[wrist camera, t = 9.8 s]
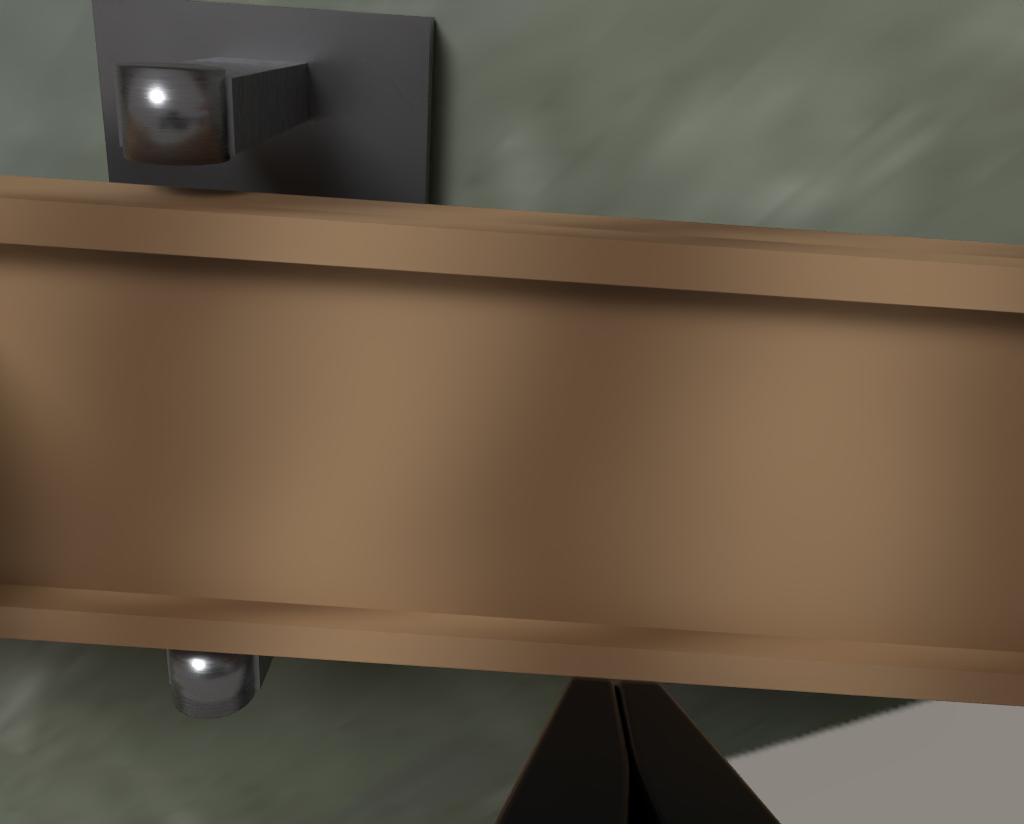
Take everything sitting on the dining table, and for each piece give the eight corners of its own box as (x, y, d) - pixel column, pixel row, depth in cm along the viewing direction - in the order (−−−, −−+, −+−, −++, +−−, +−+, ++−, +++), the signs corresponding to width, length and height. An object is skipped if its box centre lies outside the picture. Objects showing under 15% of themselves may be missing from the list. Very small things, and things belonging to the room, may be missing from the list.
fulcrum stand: (434, 18, 18) (388, 17, 12) (417, 573, 22) (378, 766, 16) (109, -6, 18) (-95, -17, 12) (160, 556, 22) (31, 745, 16)
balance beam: (1214, 257, 14) (1417, 330, 11) (1075, 651, 17) (1204, 804, 13) (-837, 117, 14) (-1254, 147, 11) (-643, 535, 17) (-930, 662, 13)
